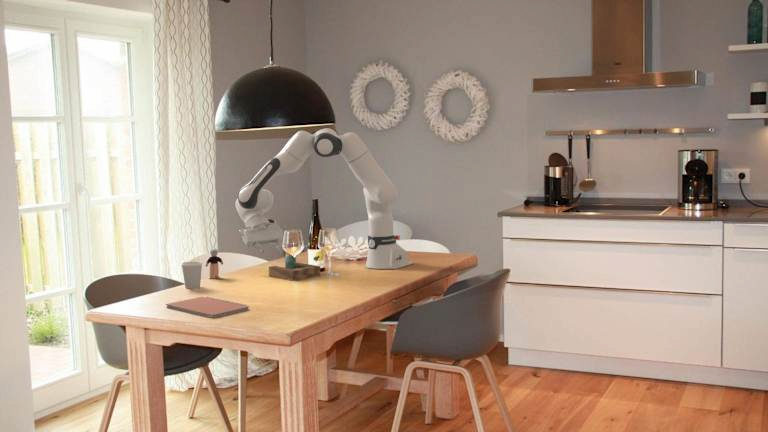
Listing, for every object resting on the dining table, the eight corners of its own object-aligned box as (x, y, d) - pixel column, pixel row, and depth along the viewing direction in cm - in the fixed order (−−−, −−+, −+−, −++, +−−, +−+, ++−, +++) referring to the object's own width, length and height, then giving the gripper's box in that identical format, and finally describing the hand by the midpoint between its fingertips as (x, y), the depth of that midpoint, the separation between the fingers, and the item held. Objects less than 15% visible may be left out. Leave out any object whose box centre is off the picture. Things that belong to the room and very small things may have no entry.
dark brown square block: (296, 271, 357) (296, 262, 357) (320, 275, 346) (320, 266, 346) (269, 276, 347) (268, 266, 346) (292, 280, 336) (292, 271, 335)
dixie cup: (177, 289, 322) (176, 264, 321) (189, 285, 330) (188, 260, 329) (195, 290, 319) (194, 265, 318) (207, 286, 327) (206, 261, 326)
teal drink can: (291, 273, 351) (291, 250, 350) (298, 275, 348) (297, 252, 347) (283, 275, 348) (282, 252, 347) (290, 276, 345) (289, 253, 344)
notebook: (251, 310, 285) (251, 305, 285) (212, 320, 273) (212, 314, 272) (204, 300, 303) (204, 295, 303) (165, 308, 290) (165, 303, 290)
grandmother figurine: (209, 279, 341) (208, 249, 340) (204, 278, 344) (203, 248, 343) (225, 277, 346) (224, 247, 345) (220, 275, 349) (219, 246, 348)
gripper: (240, 224, 352) (255, 248, 347) (278, 219, 367) (292, 243, 361) (235, 233, 356) (249, 257, 350) (272, 228, 371) (286, 251, 365)
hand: (271, 250), depth 356 cm, fingers open, 8 cm apart
